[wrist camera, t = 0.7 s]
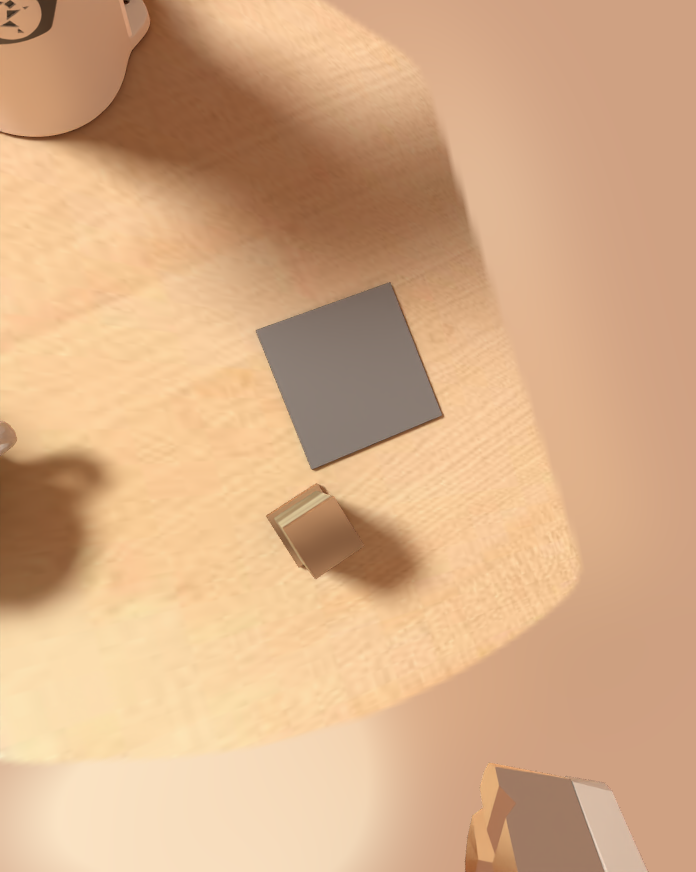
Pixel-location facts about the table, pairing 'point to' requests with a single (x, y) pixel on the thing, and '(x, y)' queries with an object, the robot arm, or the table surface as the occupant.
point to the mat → (349, 374)
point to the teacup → (6, 437)
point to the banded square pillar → (315, 531)
